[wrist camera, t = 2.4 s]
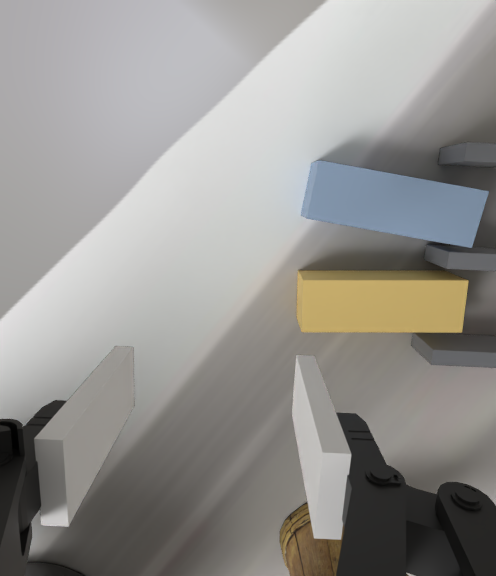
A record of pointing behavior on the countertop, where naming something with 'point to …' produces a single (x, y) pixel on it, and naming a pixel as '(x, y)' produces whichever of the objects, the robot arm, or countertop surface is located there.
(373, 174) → the bar blue
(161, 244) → the countertop surface
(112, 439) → the robot arm
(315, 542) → the wooden mug
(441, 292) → the bar ochre
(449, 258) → the comb rack
